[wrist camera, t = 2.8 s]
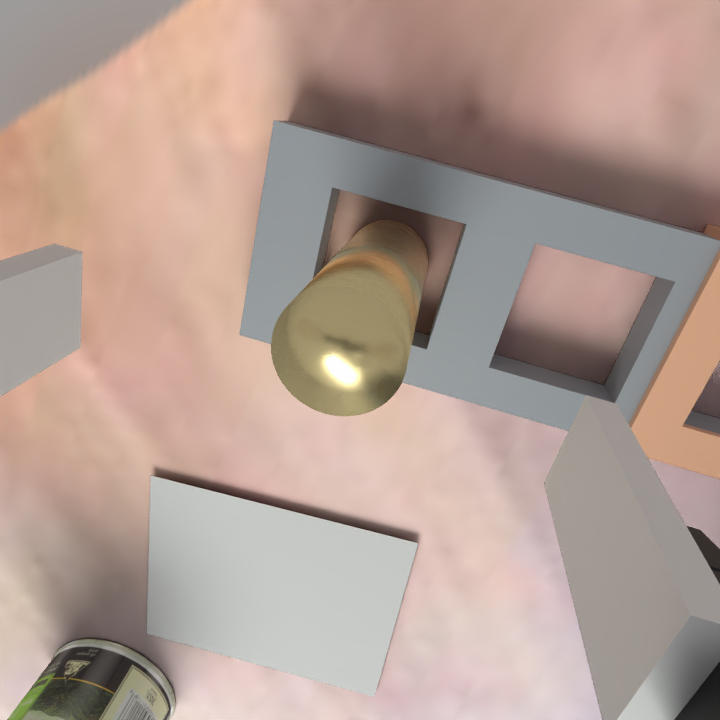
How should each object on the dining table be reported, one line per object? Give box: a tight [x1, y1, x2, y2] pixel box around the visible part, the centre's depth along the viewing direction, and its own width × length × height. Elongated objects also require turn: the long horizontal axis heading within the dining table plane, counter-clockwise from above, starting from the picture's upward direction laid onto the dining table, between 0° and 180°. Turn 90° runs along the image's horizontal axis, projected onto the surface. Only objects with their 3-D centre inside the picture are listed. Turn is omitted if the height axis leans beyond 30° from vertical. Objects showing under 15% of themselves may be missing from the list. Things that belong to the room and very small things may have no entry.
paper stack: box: [146, 475, 418, 697], centre depth 34 cm, size 23×25×1 cm
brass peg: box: [271, 220, 428, 416], centre depth 21 cm, size 4×4×12 cm
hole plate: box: [240, 121, 720, 479], centre depth 25 cm, size 30×10×2 cm, turn 76°
